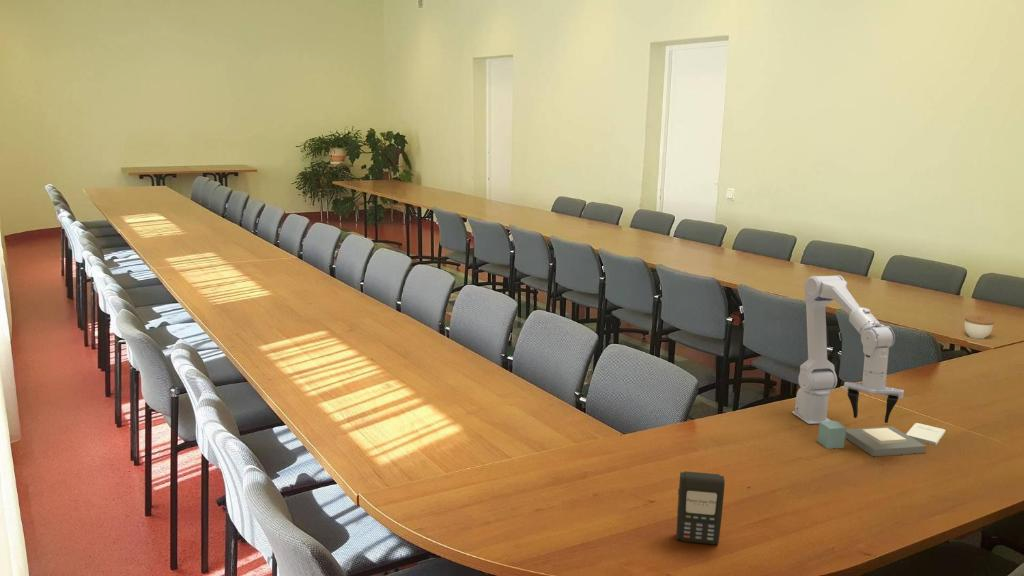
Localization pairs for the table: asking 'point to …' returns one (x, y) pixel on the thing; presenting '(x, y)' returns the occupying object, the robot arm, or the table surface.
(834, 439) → the block
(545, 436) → the table surface
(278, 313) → the table surface
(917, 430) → the external hard drive
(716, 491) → the card reader
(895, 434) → the base board
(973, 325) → the lidded jar
